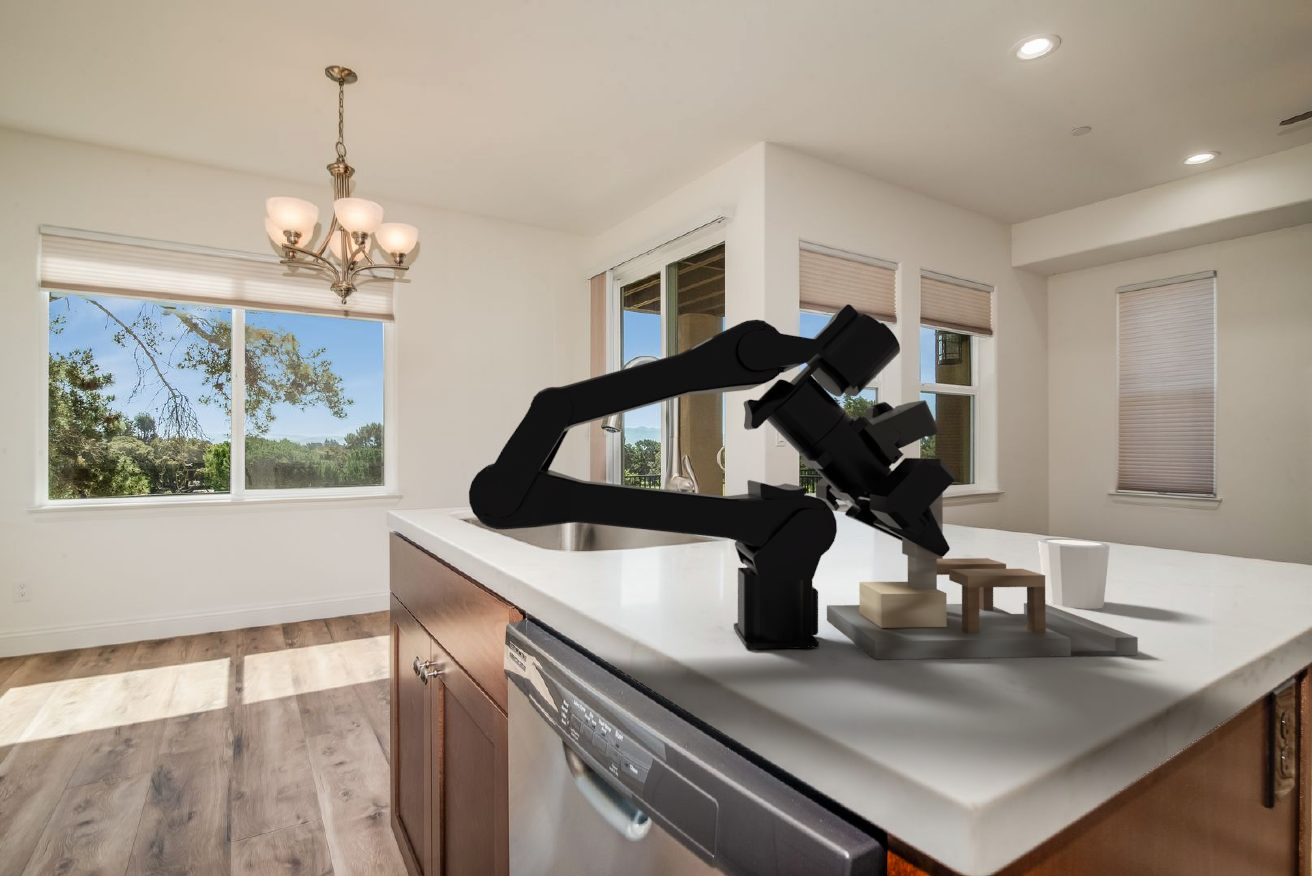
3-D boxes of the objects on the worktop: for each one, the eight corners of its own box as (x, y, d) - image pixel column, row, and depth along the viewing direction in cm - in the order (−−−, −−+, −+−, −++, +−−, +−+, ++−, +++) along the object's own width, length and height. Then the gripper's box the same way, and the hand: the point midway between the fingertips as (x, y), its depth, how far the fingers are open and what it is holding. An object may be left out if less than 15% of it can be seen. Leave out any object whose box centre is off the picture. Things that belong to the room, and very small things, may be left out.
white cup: (1027, 600, 73) (1027, 540, 73) (1054, 593, 77) (1053, 536, 77) (1095, 613, 67) (1094, 548, 67) (1120, 604, 71) (1119, 543, 71)
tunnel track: (875, 659, 52) (875, 581, 52) (826, 620, 64) (826, 556, 64) (1137, 655, 54) (1137, 578, 54) (1042, 617, 66) (1041, 555, 66)
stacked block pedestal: (881, 627, 56) (881, 493, 56) (859, 613, 61) (859, 490, 61) (948, 626, 56) (948, 493, 56) (921, 612, 61) (921, 490, 61)
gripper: (931, 356, 49) (1065, 496, 50) (844, 381, 68) (943, 484, 69) (833, 455, 49) (970, 597, 49) (772, 453, 67) (872, 556, 68)
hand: (936, 549), depth 59 cm, fingers closed on stacked block pedestal, 3 cm apart
